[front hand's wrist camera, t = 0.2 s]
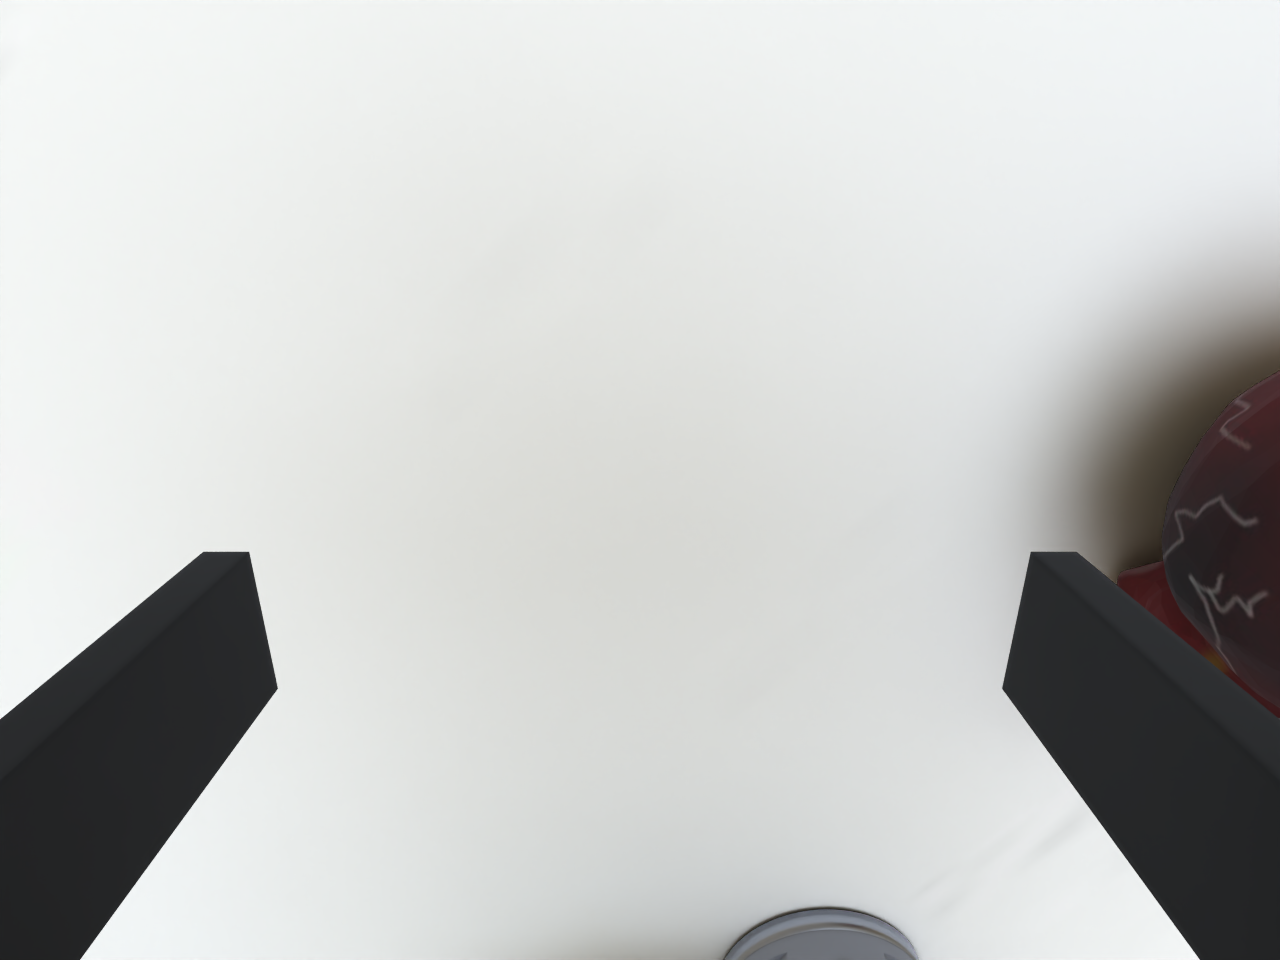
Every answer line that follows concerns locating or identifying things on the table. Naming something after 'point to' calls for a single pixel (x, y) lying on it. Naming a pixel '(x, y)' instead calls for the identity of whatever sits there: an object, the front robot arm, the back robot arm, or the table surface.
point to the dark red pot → (1225, 547)
